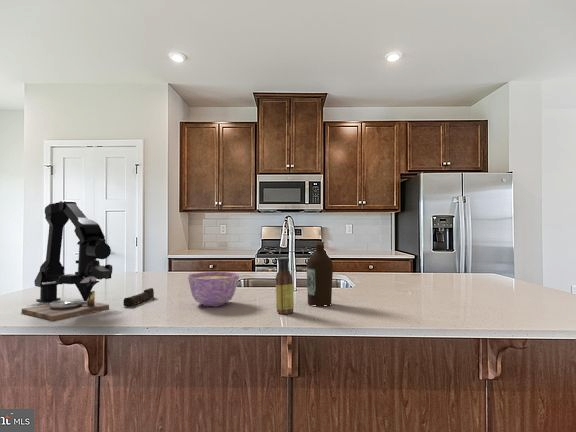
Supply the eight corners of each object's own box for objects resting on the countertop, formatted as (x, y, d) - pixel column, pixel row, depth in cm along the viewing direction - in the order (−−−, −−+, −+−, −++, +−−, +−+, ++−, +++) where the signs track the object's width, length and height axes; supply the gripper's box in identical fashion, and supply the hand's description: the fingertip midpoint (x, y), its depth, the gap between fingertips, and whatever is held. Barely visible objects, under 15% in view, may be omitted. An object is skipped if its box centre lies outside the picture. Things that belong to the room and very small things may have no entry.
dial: (45, 309, 126) (45, 295, 127) (56, 303, 136) (56, 290, 136) (90, 307, 130) (91, 293, 130) (97, 301, 140) (98, 288, 140)
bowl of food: (249, 304, 145) (249, 275, 145) (206, 313, 131) (207, 280, 131) (218, 297, 159) (219, 270, 159) (177, 304, 144) (177, 275, 144)
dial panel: (21, 312, 129) (21, 308, 129) (77, 302, 146) (78, 298, 146) (52, 320, 119) (52, 315, 119) (109, 308, 136) (109, 304, 136)
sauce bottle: (295, 311, 134) (296, 257, 134) (290, 315, 128) (290, 258, 128) (279, 310, 136) (279, 256, 136) (272, 313, 130) (273, 258, 130)
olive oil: (324, 300, 153) (325, 241, 153) (337, 306, 143) (338, 242, 144) (301, 302, 149) (302, 241, 149) (313, 308, 139) (314, 242, 139)
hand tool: (132, 308, 138) (132, 295, 139) (122, 307, 139) (123, 295, 139) (159, 298, 157) (159, 287, 157) (150, 297, 158) (151, 287, 158)
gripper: (85, 260, 121) (83, 307, 121) (124, 257, 139) (122, 298, 139) (58, 258, 124) (56, 305, 124) (100, 255, 142) (98, 296, 142)
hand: (85, 300), depth 132 cm, fingers closed
